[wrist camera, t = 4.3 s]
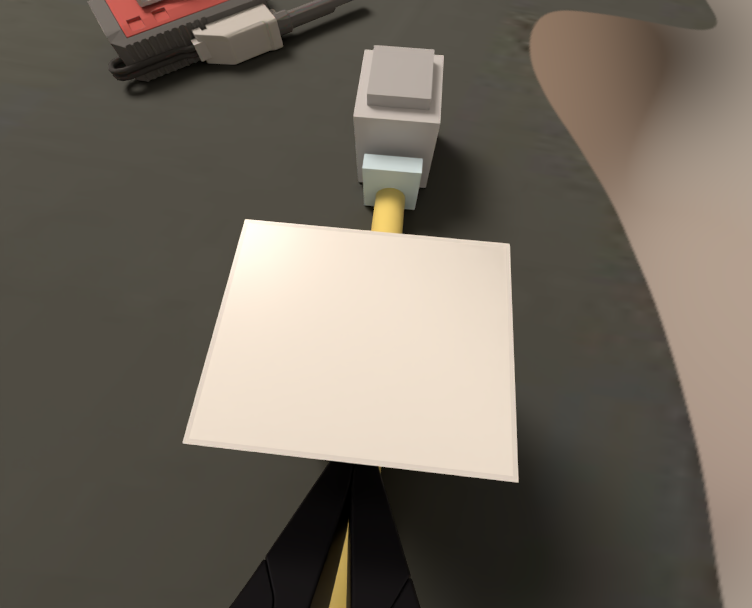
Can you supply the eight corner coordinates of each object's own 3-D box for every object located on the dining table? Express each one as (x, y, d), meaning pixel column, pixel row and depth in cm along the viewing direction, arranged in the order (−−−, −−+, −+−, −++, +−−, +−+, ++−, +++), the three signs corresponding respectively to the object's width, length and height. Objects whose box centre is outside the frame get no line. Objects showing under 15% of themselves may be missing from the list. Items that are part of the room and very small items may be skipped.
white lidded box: (431, 439, 15) (518, 482, 6) (297, 424, 15) (182, 443, 6) (436, 335, 17) (510, 243, 8) (315, 322, 17) (245, 219, 8)
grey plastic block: (424, 210, 20) (441, 140, 15) (354, 204, 20) (347, 132, 15) (429, 129, 22) (445, 43, 17) (367, 124, 22) (364, 37, 17)
